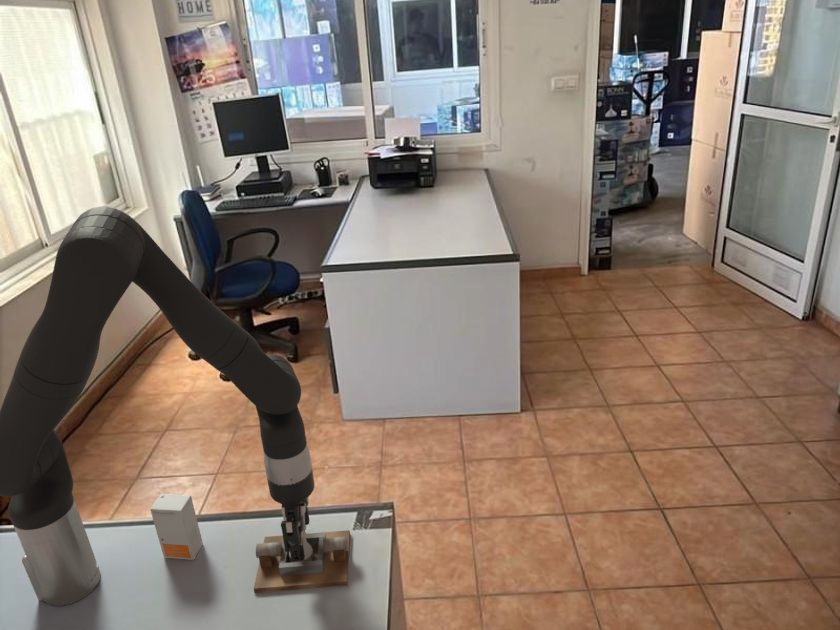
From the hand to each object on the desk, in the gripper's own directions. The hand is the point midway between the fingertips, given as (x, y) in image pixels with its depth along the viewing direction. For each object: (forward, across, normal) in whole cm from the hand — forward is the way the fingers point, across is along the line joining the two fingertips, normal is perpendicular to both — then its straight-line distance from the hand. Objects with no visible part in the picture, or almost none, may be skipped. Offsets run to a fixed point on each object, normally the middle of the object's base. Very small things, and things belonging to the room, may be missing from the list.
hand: (301, 541), depth 114 cm
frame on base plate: (+5, 0, 0) cm, 5 cm away
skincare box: (+5, +5, +23) cm, 24 cm away
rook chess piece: (+4, 0, 0) cm, 4 cm away
